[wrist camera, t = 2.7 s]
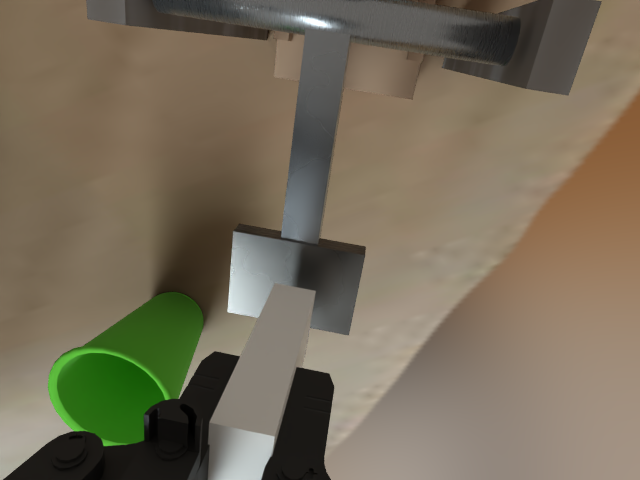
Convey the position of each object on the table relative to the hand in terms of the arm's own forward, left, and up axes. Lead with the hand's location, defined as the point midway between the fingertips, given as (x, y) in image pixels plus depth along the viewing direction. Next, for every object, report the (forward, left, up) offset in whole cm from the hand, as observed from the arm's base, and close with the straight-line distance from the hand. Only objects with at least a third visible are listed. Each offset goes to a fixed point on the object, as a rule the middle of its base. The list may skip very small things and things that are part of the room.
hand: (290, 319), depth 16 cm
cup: (-12, -15, -19) cm, 27 cm away
